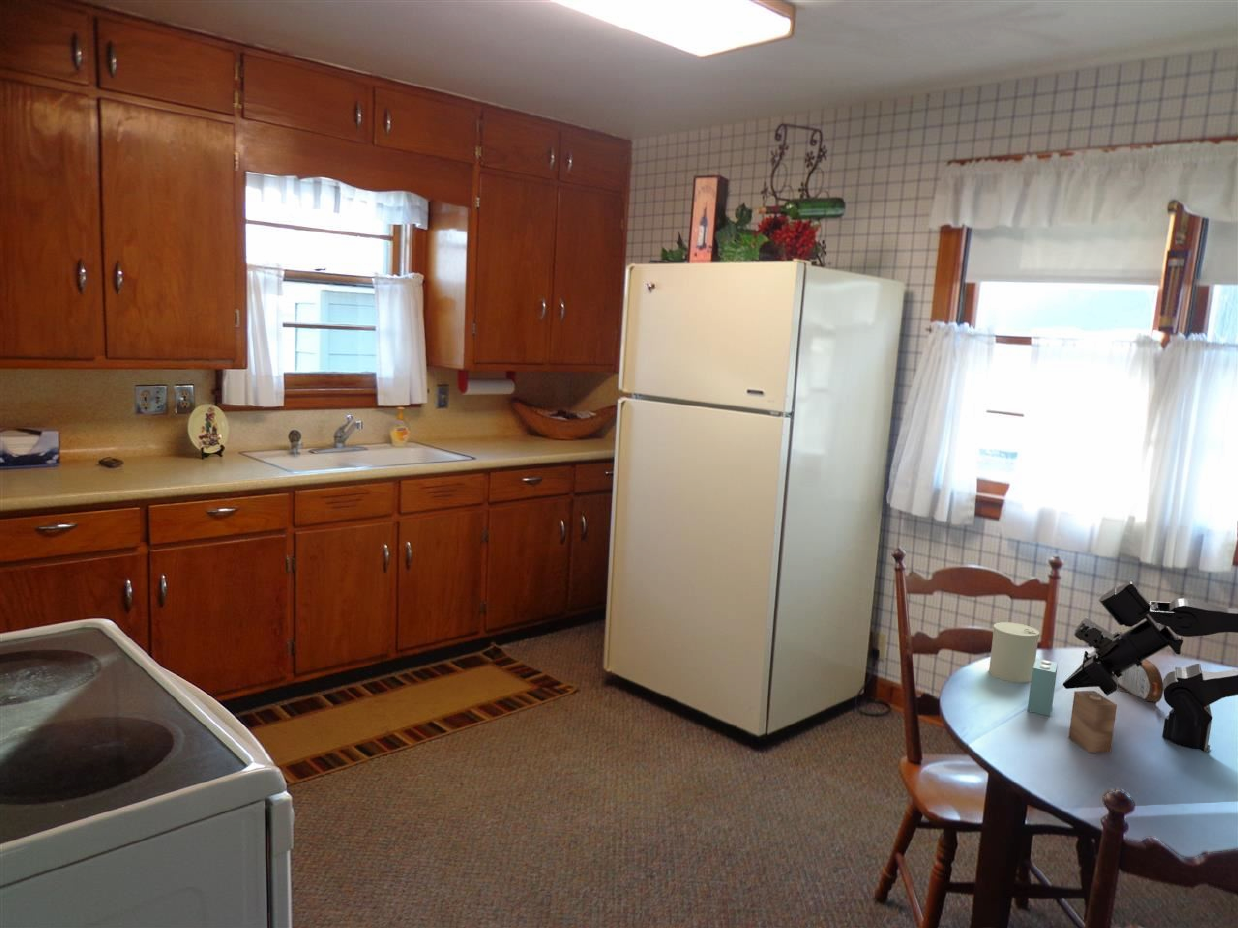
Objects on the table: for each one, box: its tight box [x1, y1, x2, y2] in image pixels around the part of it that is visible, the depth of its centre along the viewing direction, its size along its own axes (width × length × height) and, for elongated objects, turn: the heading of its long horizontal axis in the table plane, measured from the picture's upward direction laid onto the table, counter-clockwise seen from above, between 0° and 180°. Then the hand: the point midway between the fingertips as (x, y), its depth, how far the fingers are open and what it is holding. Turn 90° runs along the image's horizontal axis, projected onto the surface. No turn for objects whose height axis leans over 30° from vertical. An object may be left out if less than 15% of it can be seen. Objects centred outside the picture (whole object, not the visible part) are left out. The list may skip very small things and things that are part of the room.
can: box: [988, 621, 1040, 684], centre depth 192 cm, size 9×9×12 cm
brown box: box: [1068, 690, 1118, 754], centre depth 160 cm, size 4×6×9 cm, turn 9°
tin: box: [1113, 658, 1164, 704], centre depth 188 cm, size 15×3×8 cm, turn 179°
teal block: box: [1027, 658, 1059, 717], centre depth 175 cm, size 4×6×9 cm, turn 150°
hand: (1064, 686), depth 173 cm, fingers closed
